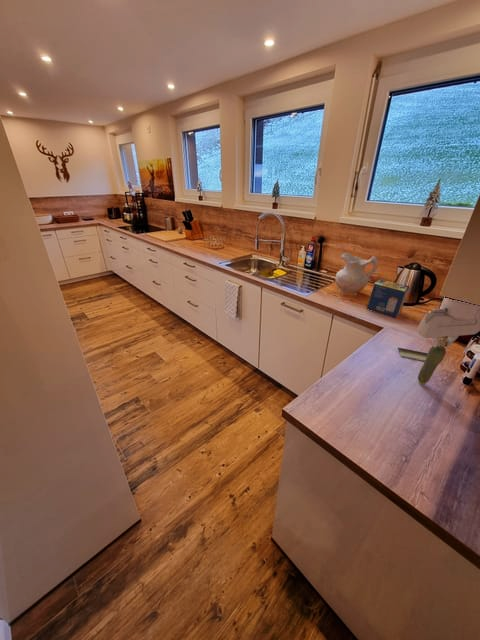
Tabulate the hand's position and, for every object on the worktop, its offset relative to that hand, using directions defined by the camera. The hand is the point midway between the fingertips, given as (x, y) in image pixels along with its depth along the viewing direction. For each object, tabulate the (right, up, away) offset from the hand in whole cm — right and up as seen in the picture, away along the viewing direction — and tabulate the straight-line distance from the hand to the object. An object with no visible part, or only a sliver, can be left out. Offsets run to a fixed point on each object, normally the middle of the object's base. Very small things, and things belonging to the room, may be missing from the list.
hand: (440, 345), depth 86 cm
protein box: (+14, +13, +60) cm, 63 cm away
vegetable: (-1, -14, +8) cm, 16 cm away
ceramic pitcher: (+5, +26, +83) cm, 88 cm away
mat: (+8, -5, +25) cm, 27 cm away
